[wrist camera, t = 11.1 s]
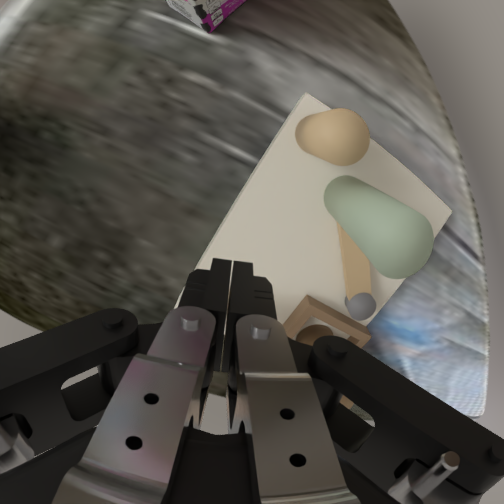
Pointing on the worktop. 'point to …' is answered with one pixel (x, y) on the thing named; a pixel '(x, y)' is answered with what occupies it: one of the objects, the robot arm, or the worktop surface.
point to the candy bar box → (205, 11)
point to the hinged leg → (375, 239)
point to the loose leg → (309, 337)
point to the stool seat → (313, 217)
